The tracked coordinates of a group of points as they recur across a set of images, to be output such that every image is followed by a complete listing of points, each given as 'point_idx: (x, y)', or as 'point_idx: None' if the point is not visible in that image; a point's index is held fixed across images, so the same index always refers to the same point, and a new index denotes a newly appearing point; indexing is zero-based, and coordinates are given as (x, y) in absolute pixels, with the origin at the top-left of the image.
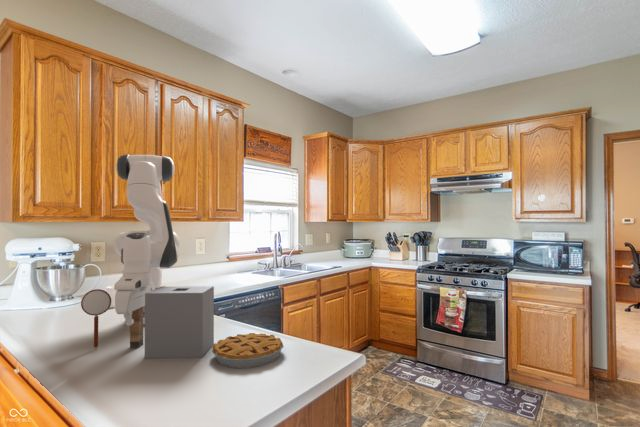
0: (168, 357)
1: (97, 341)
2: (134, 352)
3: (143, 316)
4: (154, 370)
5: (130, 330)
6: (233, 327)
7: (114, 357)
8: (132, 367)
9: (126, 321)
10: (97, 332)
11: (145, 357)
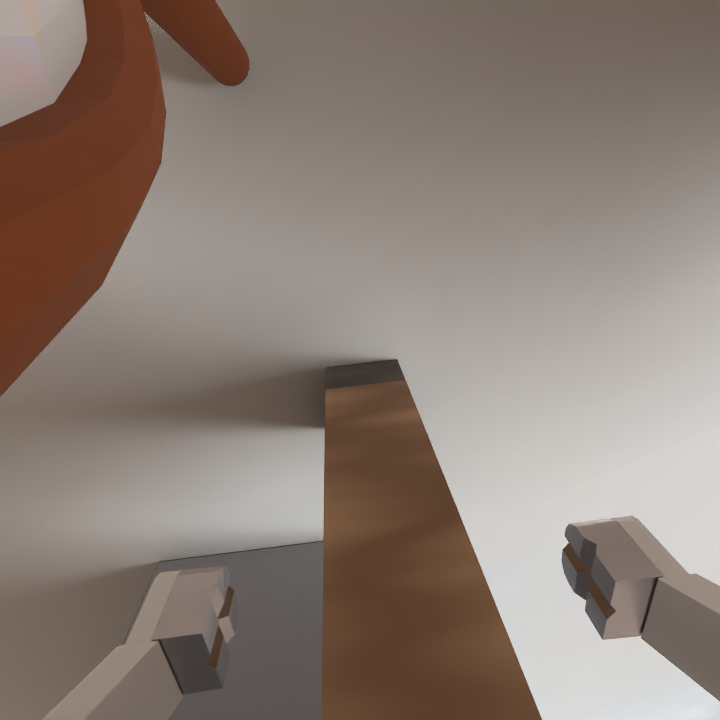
0: None
1: (214, 69)
2: (238, 454)
3: (570, 567)
4: (27, 676)
5: (325, 455)
6: (692, 704)
7: (113, 384)
8: (13, 579)
9: (138, 626)
10: (169, 30)
11: (160, 568)
